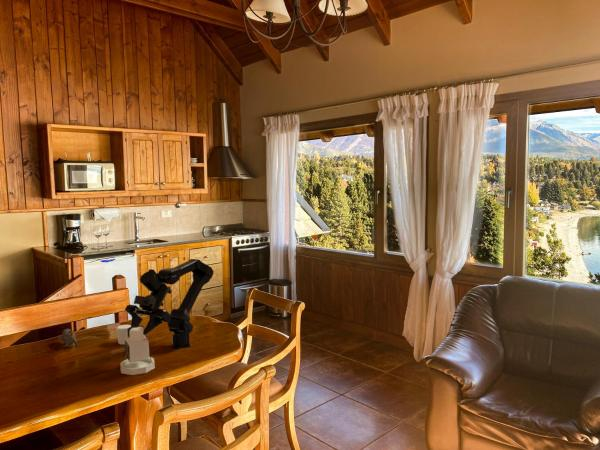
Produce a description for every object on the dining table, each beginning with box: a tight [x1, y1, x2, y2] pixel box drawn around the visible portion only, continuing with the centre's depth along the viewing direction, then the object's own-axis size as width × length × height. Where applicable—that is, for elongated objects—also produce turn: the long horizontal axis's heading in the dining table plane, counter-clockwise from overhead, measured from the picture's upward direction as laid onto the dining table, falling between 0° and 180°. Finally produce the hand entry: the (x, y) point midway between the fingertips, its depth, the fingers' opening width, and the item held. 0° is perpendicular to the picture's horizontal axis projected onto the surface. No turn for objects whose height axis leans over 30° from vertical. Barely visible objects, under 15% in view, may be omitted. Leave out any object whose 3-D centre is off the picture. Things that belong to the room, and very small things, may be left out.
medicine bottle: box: [124, 324, 150, 363], centre depth 172 cm, size 7×7×12 cm
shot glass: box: [115, 324, 131, 345], centre depth 200 cm, size 7×7×7 cm
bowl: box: [120, 356, 156, 376], centre depth 173 cm, size 12×12×2 cm
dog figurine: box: [57, 328, 79, 348], centre depth 198 cm, size 12×6×7 cm, turn 42°
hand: (137, 333), depth 172 cm, fingers closed on medicine bottle, 6 cm apart
